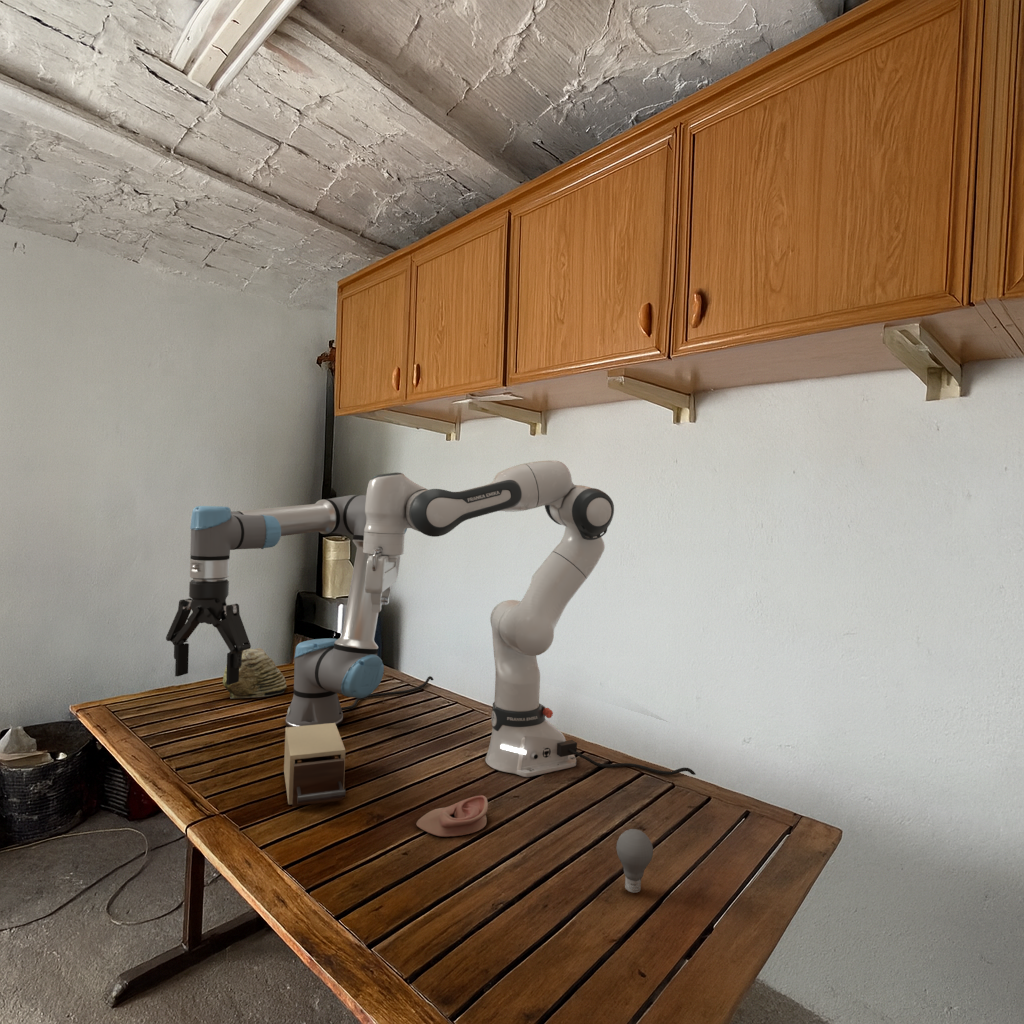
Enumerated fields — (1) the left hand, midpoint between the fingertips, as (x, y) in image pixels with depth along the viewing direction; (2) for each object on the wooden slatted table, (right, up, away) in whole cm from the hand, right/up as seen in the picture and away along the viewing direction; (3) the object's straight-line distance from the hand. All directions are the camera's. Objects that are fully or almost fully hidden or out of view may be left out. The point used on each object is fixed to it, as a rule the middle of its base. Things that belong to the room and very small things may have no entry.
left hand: (206, 679), depth 134 cm
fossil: (-16, -22, +64) cm, 69 cm away
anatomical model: (+53, -26, -9) cm, 60 cm away
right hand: (+36, +14, +6) cm, 39 cm away
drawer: (+23, -24, -1) cm, 33 cm away
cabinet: (+21, -25, +5) cm, 33 cm away
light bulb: (+85, -28, -29) cm, 94 cm away
